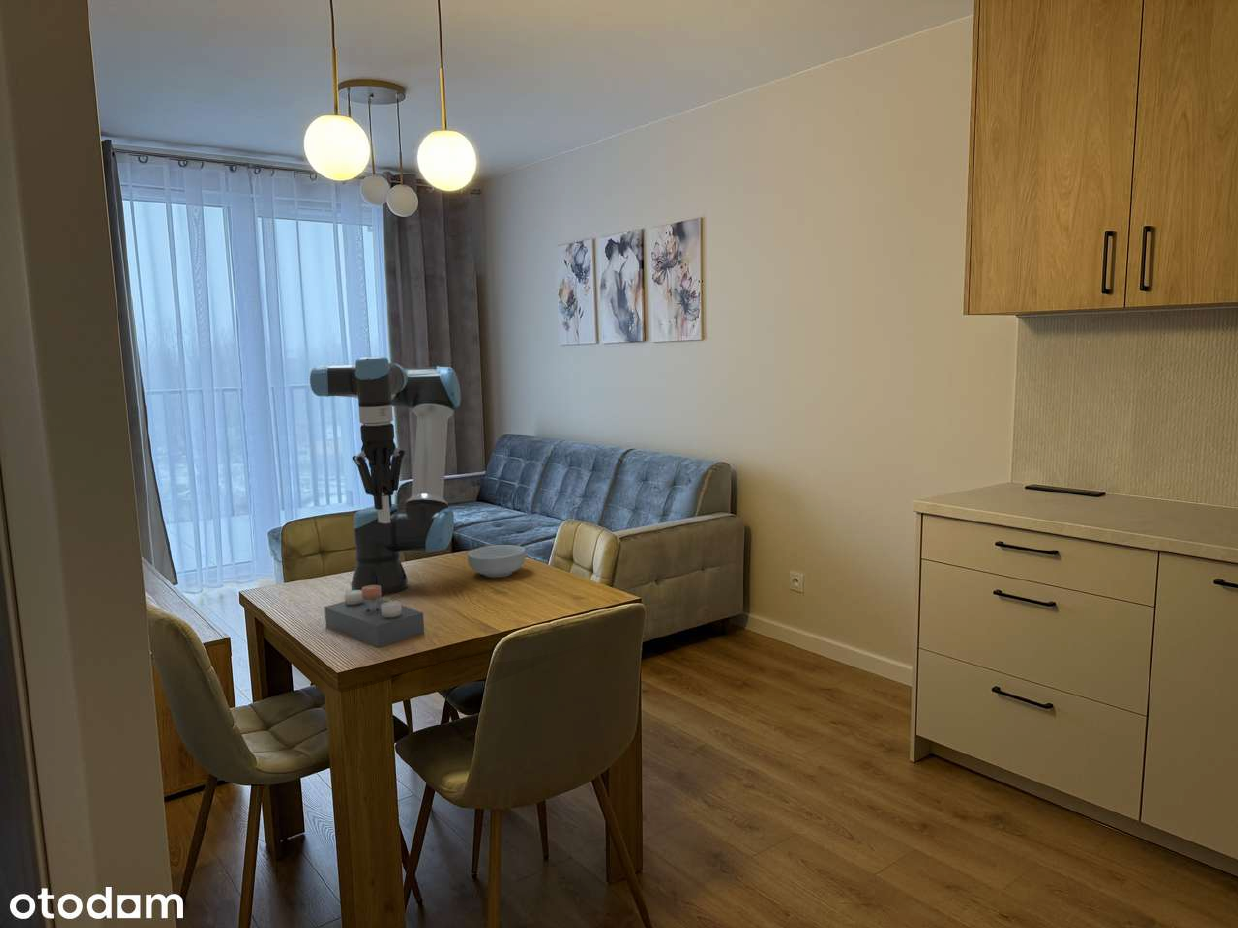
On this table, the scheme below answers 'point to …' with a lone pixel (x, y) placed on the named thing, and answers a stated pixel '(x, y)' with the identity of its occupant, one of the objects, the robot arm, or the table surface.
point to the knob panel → (373, 623)
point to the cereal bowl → (497, 560)
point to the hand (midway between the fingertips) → (384, 521)
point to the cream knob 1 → (353, 597)
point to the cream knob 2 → (391, 609)
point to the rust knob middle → (371, 595)
